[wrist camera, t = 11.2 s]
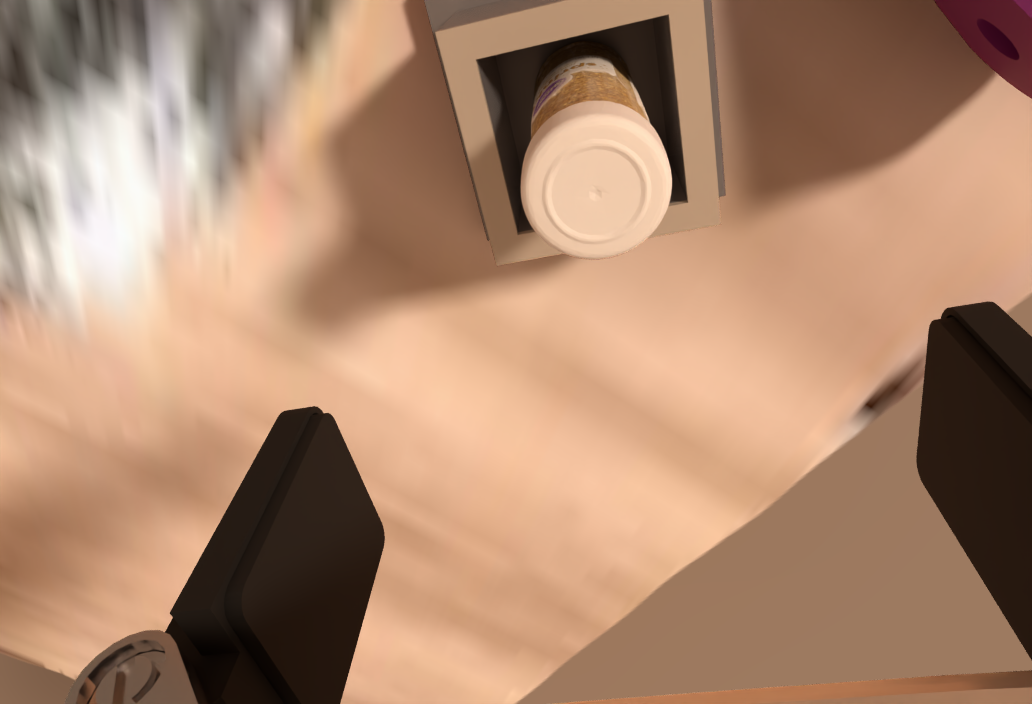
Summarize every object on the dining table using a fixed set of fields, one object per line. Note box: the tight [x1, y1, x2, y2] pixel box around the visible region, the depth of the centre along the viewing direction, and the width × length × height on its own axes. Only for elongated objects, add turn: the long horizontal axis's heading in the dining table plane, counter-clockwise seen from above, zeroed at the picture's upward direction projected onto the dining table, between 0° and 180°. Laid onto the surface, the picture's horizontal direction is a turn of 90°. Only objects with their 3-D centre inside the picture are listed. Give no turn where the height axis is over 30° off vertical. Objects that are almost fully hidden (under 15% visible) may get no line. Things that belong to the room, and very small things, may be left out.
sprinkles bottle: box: [521, 41, 672, 260], centre depth 26 cm, size 5×5×14 cm
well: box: [424, 0, 726, 266], centre depth 30 cm, size 12×12×7 cm
